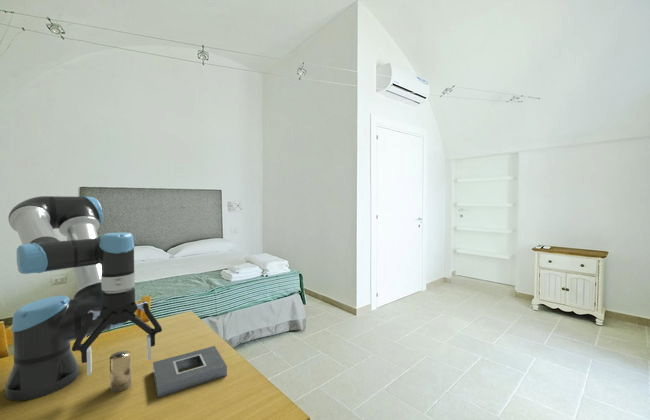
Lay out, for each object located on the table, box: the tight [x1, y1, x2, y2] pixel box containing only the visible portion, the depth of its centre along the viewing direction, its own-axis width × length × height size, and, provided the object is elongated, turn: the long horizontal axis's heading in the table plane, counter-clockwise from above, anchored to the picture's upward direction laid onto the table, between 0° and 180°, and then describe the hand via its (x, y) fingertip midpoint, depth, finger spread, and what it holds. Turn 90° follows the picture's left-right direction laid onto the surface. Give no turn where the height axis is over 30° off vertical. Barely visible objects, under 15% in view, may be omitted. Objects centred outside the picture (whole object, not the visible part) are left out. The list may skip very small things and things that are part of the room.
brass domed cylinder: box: [109, 350, 132, 393], centre depth 83 cm, size 5×5×9 cm
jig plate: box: [152, 345, 228, 399], centre depth 90 cm, size 14×18×3 cm
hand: (120, 365), depth 83 cm, fingers open, 13 cm apart
